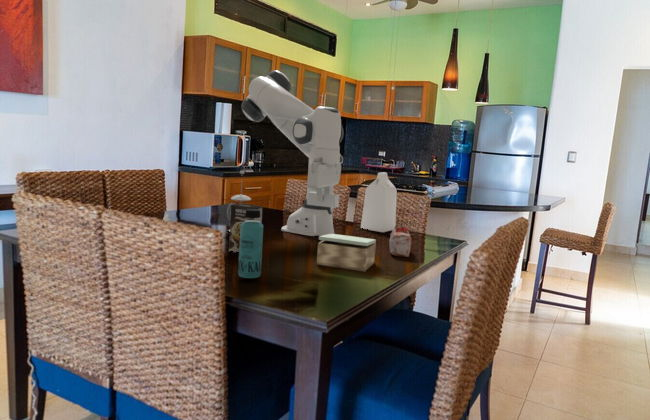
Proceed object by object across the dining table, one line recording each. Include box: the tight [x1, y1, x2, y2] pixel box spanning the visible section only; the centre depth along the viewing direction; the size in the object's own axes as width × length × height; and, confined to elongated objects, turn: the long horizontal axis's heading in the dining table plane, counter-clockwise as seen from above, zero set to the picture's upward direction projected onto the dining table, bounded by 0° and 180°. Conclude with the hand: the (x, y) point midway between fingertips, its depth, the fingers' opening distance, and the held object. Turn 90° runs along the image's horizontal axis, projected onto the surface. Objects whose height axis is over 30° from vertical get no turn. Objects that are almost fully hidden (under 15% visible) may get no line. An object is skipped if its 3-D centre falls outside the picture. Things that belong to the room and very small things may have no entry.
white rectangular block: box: [306, 191, 340, 209], centre depth 165 cm, size 10×3×4 cm, turn 65°
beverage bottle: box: [237, 209, 264, 279], centre depth 139 cm, size 6×7×20 cm
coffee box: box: [228, 202, 264, 253], centre depth 171 cm, size 9×6×16 cm
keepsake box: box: [316, 240, 377, 273], centre depth 165 cm, size 16×12×7 cm
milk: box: [360, 171, 398, 233], centre depth 232 cm, size 12×12×26 cm
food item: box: [388, 226, 412, 258], centre depth 185 cm, size 14×8×10 cm, turn 177°
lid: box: [318, 233, 377, 246], centre depth 165 cm, size 16×13×1 cm
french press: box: [226, 170, 252, 232], centre depth 203 cm, size 10×12×25 cm
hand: (322, 200), depth 165 cm, fingers closed on white rectangular block, 3 cm apart
